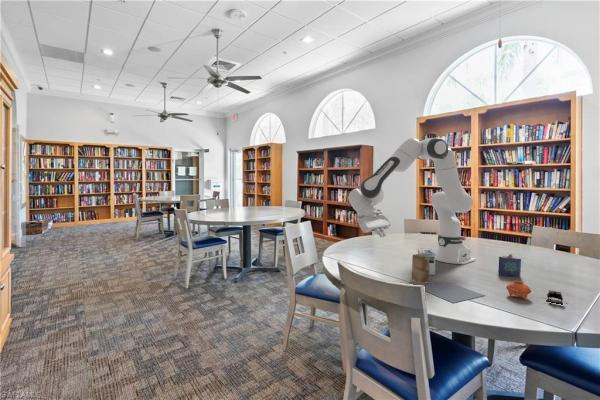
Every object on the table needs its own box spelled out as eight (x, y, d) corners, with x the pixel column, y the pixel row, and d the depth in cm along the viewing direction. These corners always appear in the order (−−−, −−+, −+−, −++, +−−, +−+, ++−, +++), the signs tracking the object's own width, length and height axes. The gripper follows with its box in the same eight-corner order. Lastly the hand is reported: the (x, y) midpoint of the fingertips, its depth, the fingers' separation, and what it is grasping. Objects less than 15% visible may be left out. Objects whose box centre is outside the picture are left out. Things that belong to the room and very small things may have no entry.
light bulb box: (435, 275, 147) (436, 253, 146) (420, 274, 148) (421, 252, 147) (430, 268, 157) (431, 248, 156) (416, 268, 158) (417, 247, 158)
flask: (519, 275, 146) (520, 253, 146) (521, 277, 144) (523, 255, 143) (497, 273, 149) (498, 252, 148) (499, 275, 146) (500, 253, 145)
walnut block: (419, 279, 141) (420, 253, 140) (428, 282, 136) (429, 256, 136) (411, 280, 139) (412, 254, 138) (420, 284, 134) (421, 257, 134)
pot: (536, 298, 118) (535, 282, 117) (521, 305, 116) (520, 289, 115) (516, 290, 125) (515, 275, 124) (502, 297, 123) (500, 281, 122)
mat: (446, 281, 138) (446, 281, 138) (485, 295, 121) (485, 295, 121) (416, 287, 130) (416, 286, 130) (453, 303, 114) (453, 302, 114)
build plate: (533, 302, 116) (534, 291, 116) (533, 297, 122) (534, 285, 121) (577, 311, 108) (578, 299, 108) (574, 305, 114) (575, 293, 114)
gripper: (358, 212, 150) (374, 235, 144) (383, 210, 163) (399, 230, 156) (351, 220, 154) (366, 242, 147) (376, 217, 167) (391, 237, 160)
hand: (383, 236), depth 152 cm, fingers closed
